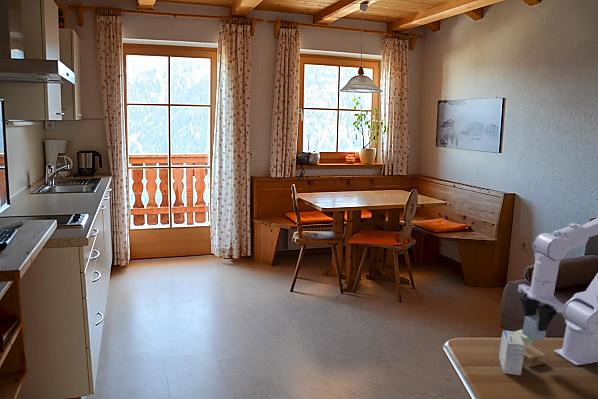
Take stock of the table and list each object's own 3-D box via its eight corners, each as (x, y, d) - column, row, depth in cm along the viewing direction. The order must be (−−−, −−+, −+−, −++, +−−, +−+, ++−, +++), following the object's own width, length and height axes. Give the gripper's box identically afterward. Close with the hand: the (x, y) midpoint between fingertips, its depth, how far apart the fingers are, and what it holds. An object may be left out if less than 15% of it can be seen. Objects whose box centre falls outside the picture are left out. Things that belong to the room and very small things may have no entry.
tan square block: (527, 353, 149) (528, 344, 148) (544, 364, 143) (546, 354, 143) (510, 357, 146) (512, 347, 146) (527, 368, 141) (529, 357, 140)
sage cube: (518, 341, 155) (521, 329, 154) (531, 347, 152) (533, 335, 151) (510, 344, 153) (512, 332, 152) (523, 351, 150) (525, 338, 149)
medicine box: (520, 376, 136) (526, 345, 134) (502, 373, 137) (507, 343, 135) (515, 361, 144) (519, 332, 142) (497, 358, 144) (502, 329, 143)
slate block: (533, 331, 145) (536, 315, 144) (544, 338, 141) (547, 321, 140) (522, 333, 143) (524, 316, 142) (533, 340, 140) (536, 323, 138)
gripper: (512, 270, 144) (504, 316, 147) (554, 290, 131) (544, 340, 134) (532, 268, 146) (524, 314, 149) (575, 288, 133) (565, 337, 136)
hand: (535, 326), depth 142 cm, fingers closed on slate block, 4 cm apart
